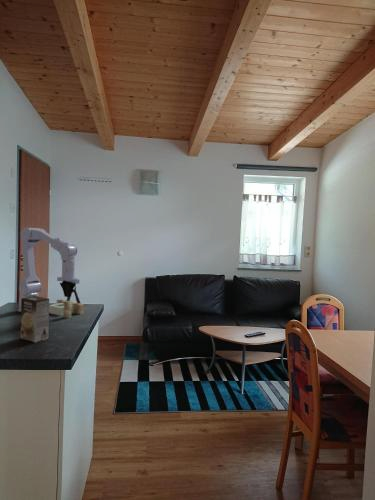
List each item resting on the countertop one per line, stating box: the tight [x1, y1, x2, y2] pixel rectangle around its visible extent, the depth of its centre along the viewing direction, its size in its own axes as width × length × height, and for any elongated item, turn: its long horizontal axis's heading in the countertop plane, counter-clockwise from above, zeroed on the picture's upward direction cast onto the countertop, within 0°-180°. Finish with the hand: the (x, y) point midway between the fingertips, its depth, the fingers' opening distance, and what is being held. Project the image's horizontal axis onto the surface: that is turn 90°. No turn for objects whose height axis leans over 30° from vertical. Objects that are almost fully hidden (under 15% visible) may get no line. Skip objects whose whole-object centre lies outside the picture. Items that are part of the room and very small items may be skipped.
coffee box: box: [20, 295, 50, 343], centre depth 125 cm, size 9×6×16 cm
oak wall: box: [56, 299, 85, 315], centre depth 171 cm, size 20×2×5 cm, turn 58°
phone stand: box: [66, 285, 82, 304], centre depth 183 cm, size 9×6×12 cm, turn 109°
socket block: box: [49, 303, 75, 317], centre depth 167 cm, size 10×8×4 cm
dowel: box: [63, 300, 73, 319], centre depth 158 cm, size 4×4×8 cm
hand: (67, 296), depth 158 cm, fingers closed
